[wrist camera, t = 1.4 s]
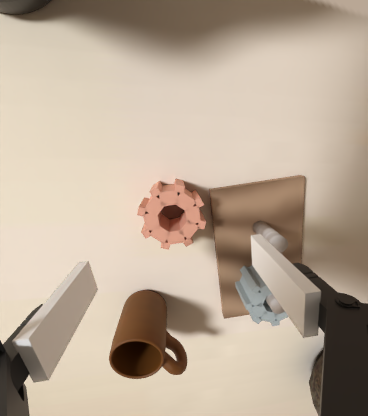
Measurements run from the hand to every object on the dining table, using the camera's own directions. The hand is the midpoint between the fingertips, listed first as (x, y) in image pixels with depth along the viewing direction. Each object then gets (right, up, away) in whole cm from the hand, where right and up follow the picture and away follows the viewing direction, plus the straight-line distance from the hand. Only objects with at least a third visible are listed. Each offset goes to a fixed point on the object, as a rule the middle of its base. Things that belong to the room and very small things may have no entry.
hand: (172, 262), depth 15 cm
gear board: (+13, -3, +17) cm, 22 cm away
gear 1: (-1, +4, +14) cm, 15 cm away
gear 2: (+14, -8, +18) cm, 24 cm away
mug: (-4, -14, +20) cm, 25 cm away
